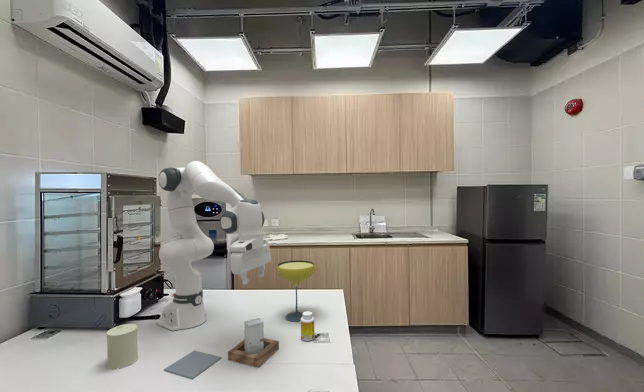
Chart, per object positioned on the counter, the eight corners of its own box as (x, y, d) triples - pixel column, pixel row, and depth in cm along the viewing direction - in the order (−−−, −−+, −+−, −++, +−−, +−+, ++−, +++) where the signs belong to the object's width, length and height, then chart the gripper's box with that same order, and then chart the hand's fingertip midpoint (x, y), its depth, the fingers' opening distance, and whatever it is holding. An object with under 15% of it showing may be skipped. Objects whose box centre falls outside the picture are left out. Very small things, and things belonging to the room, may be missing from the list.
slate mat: (163, 370, 99) (163, 369, 99) (194, 351, 111) (194, 350, 111) (192, 379, 94) (192, 378, 94) (221, 358, 106) (221, 357, 106)
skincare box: (248, 360, 104) (247, 325, 104) (244, 354, 108) (243, 321, 108) (264, 354, 108) (264, 321, 108) (260, 349, 112) (259, 317, 112)
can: (132, 351, 111) (132, 320, 111) (142, 360, 105) (141, 326, 105) (103, 363, 104) (102, 329, 104) (111, 372, 98) (111, 336, 98)
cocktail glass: (291, 329, 128) (290, 271, 128) (270, 316, 142) (269, 264, 142) (323, 317, 139) (322, 264, 139) (301, 306, 153) (300, 258, 153)
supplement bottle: (314, 341, 117) (314, 315, 117) (300, 342, 117) (300, 316, 117) (314, 334, 122) (313, 310, 122) (300, 335, 122) (300, 310, 122)
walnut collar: (228, 360, 105) (227, 351, 105) (250, 342, 117) (250, 335, 117) (258, 367, 100) (258, 358, 100) (278, 349, 111) (278, 341, 111)
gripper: (260, 238, 120) (262, 272, 120) (226, 247, 102) (228, 287, 101) (273, 238, 118) (275, 273, 118) (241, 247, 99) (243, 288, 99)
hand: (253, 280), depth 110 cm, fingers open, 8 cm apart
